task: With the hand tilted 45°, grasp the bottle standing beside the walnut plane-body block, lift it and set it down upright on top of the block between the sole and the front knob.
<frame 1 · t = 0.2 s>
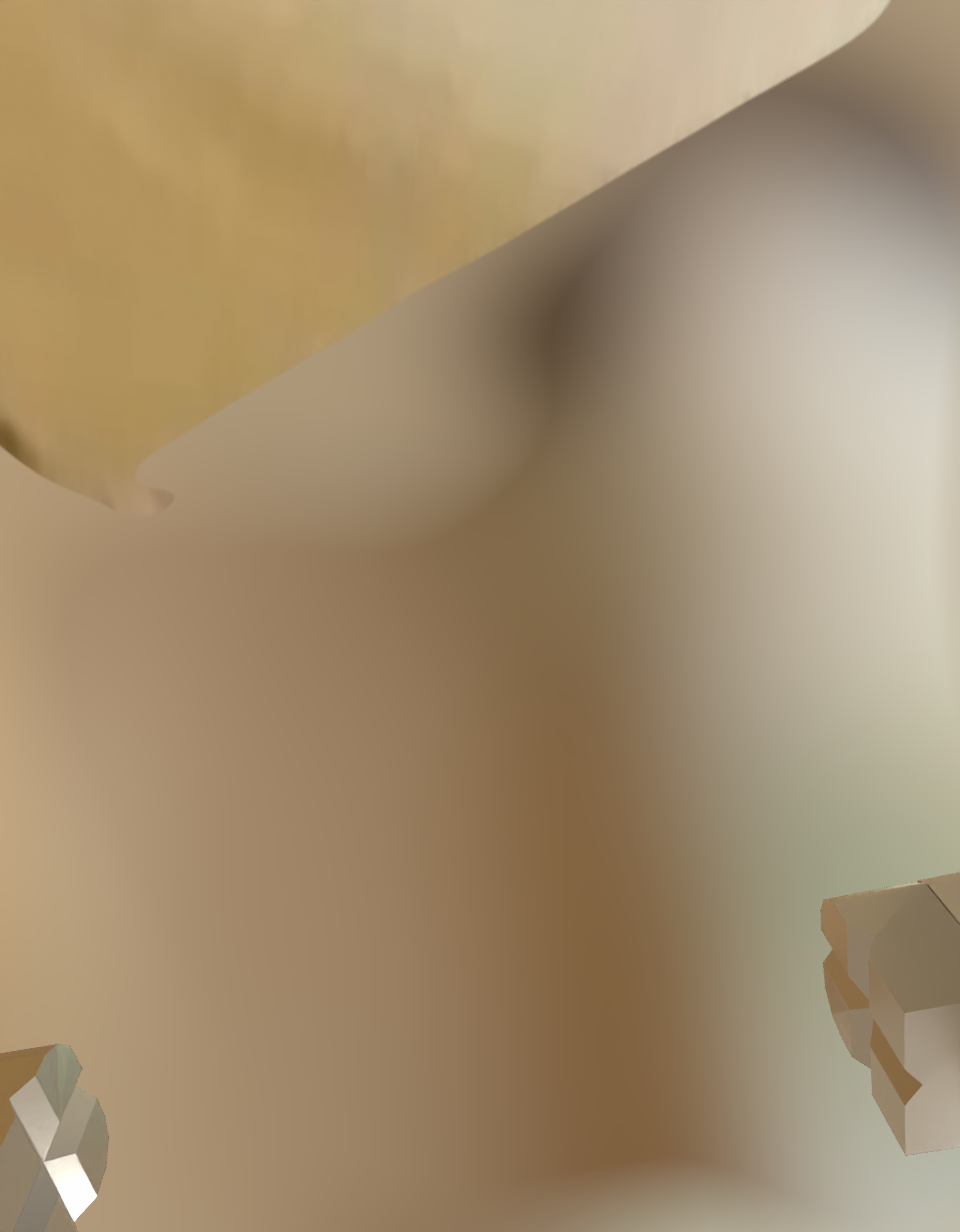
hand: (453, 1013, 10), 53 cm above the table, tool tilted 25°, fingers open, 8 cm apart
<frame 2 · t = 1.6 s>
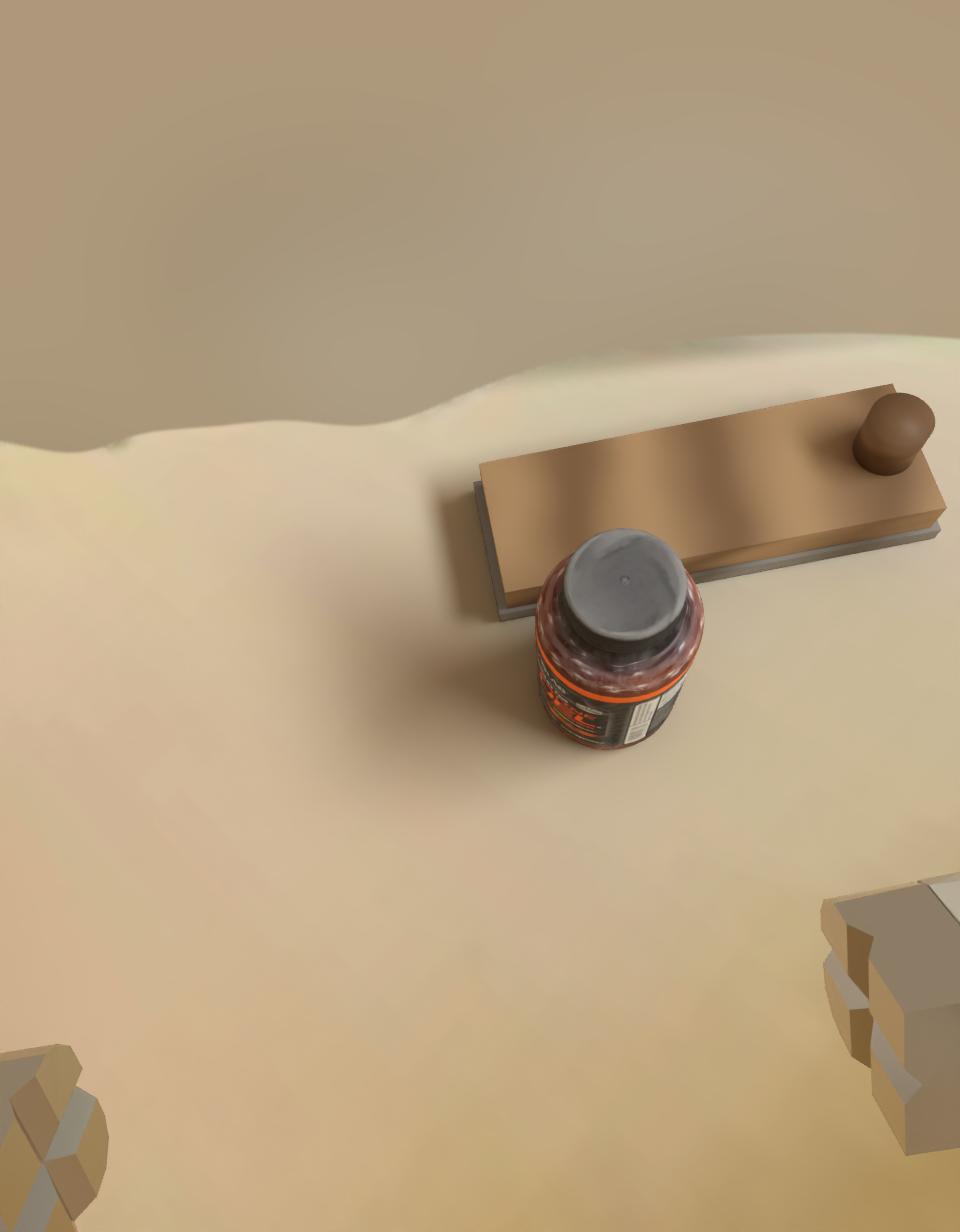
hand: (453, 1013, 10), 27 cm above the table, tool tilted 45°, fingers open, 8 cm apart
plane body: (696, 513, 42), on the table
supplement bottle: (606, 688, 39), on the table
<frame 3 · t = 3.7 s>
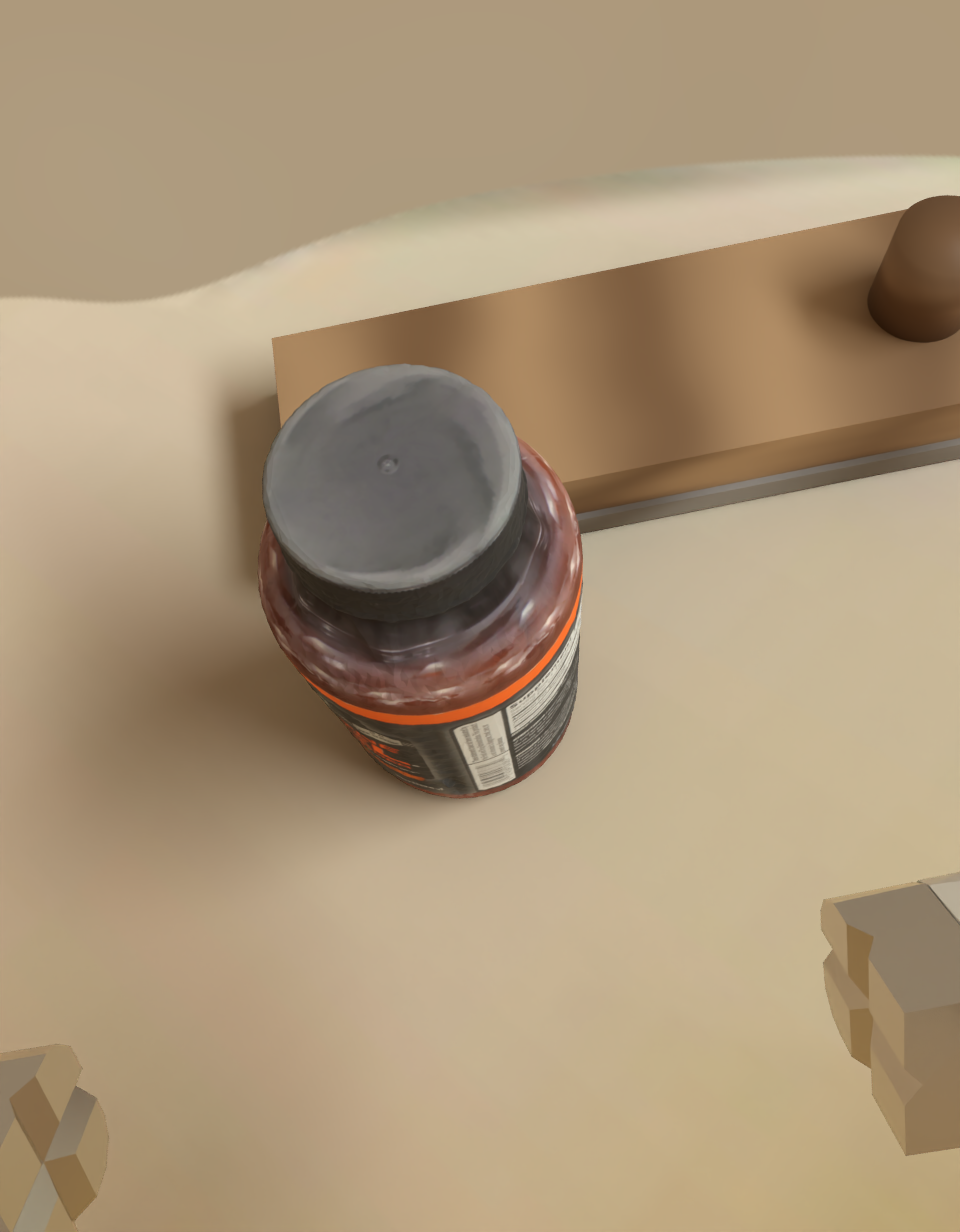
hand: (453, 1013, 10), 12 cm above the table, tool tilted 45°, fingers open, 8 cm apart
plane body: (621, 419, 26), on the table
supplement bottle: (466, 695, 24), on the table
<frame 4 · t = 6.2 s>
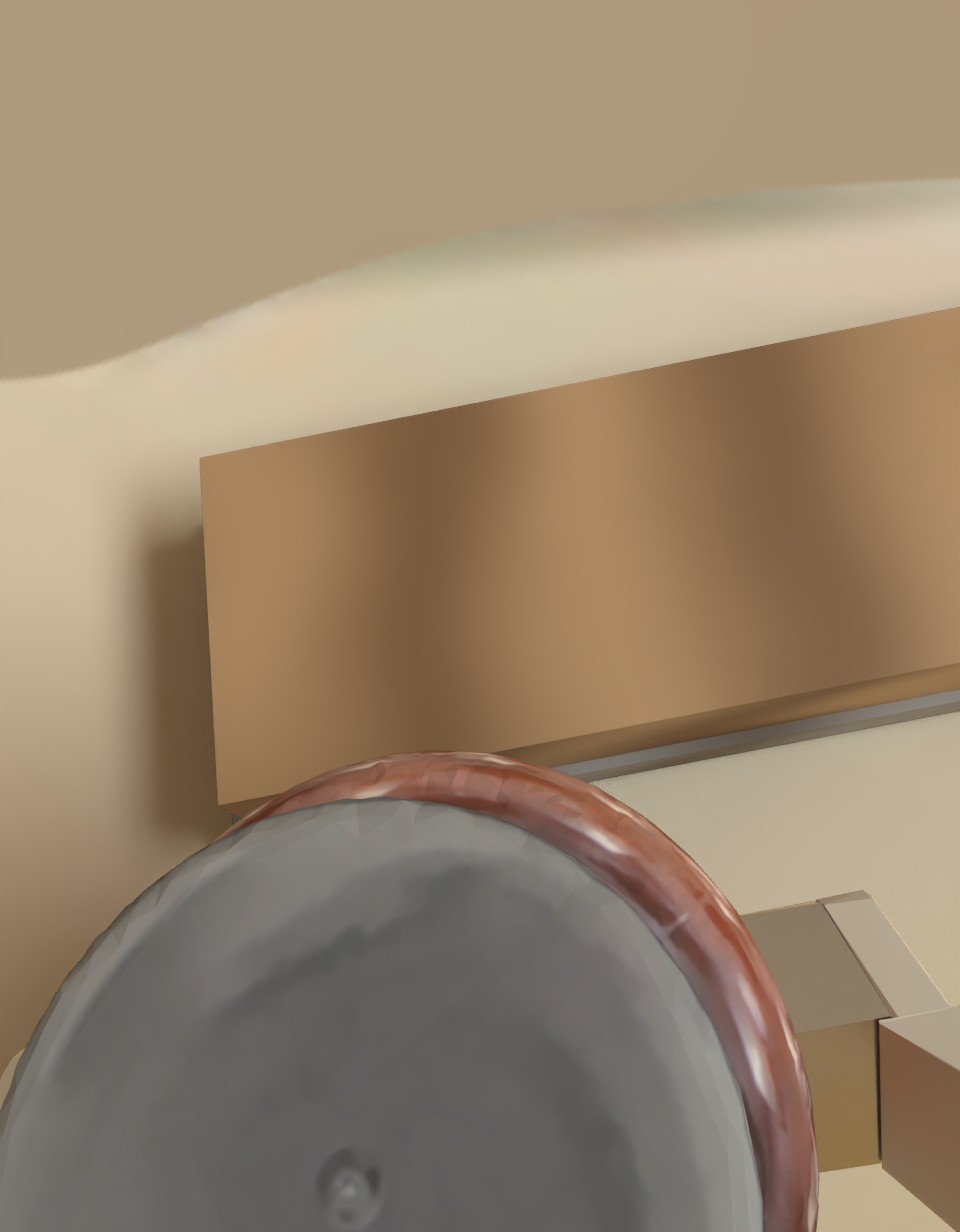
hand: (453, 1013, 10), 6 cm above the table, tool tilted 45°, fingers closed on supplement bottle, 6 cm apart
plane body: (730, 574, 18), on the table
supplement bottle: (501, 1045, 15), on the table, touching gripper
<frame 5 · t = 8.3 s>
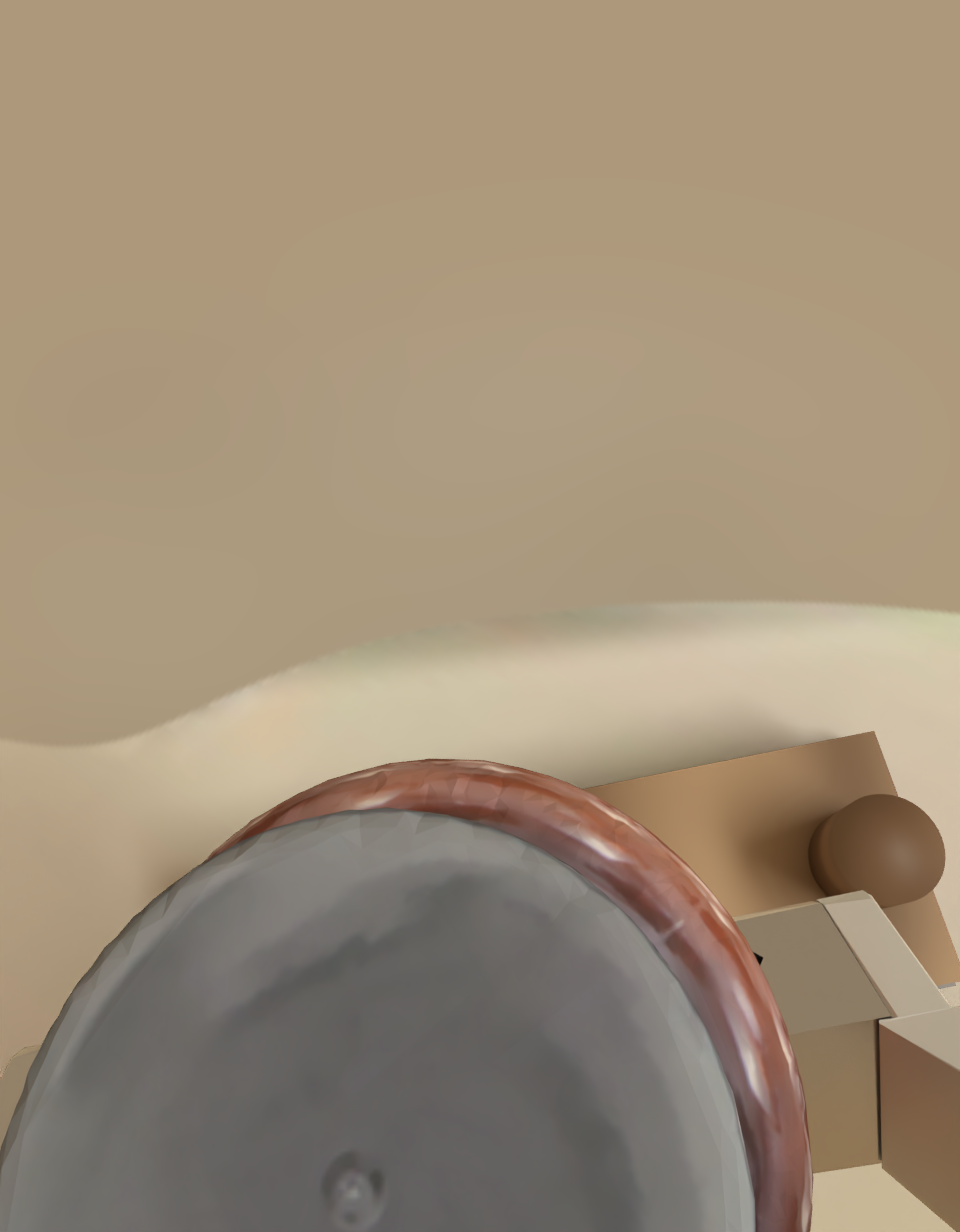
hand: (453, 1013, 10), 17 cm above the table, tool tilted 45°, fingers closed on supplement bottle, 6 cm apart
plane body: (565, 924, 26), on the table
supplement bottle: (501, 1048, 15), point 11 cm above the table, touching gripper
when the fingers open (10 cm above the table, at t = 10.5 s): supplement bottle stays where it is, resting on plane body.
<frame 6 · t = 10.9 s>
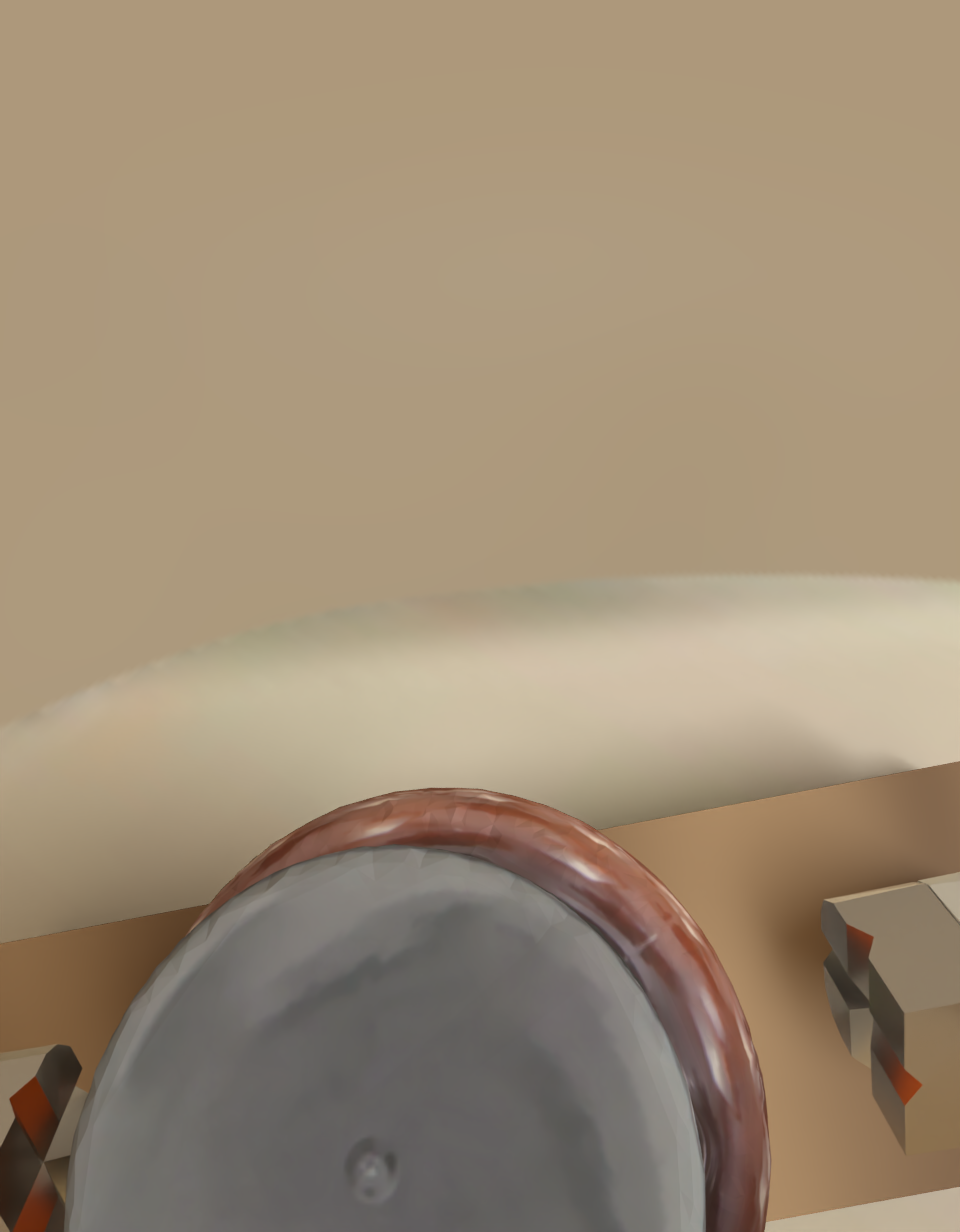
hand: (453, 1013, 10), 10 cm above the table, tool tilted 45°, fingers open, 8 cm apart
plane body: (515, 1033, 18), on the table
supplement bottle: (499, 1045, 16), point 2 cm above the table, touching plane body
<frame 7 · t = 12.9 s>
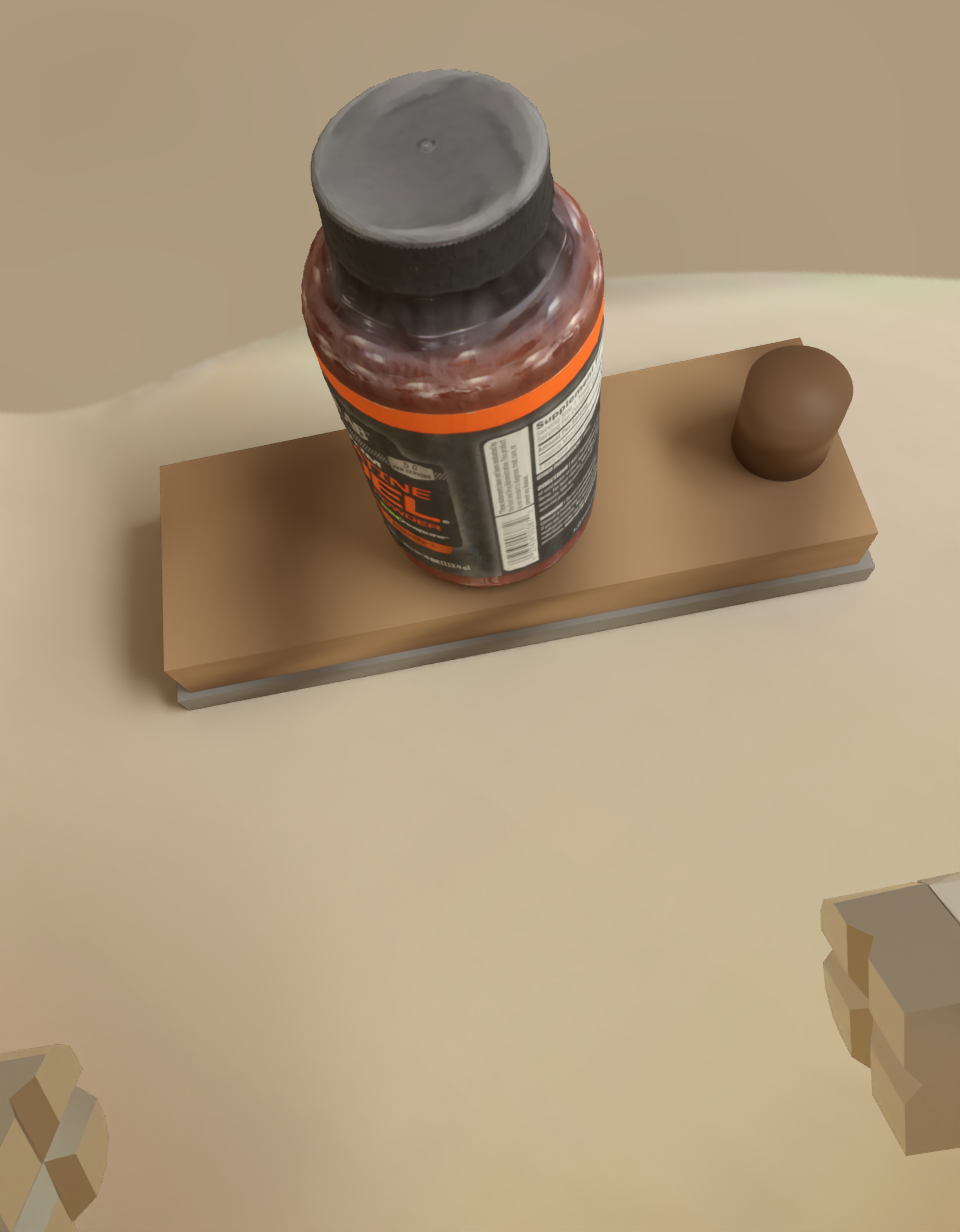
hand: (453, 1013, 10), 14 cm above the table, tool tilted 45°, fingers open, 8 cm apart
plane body: (503, 541, 27), on the table
supplement bottle: (490, 503, 25), point 2 cm above the table, touching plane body
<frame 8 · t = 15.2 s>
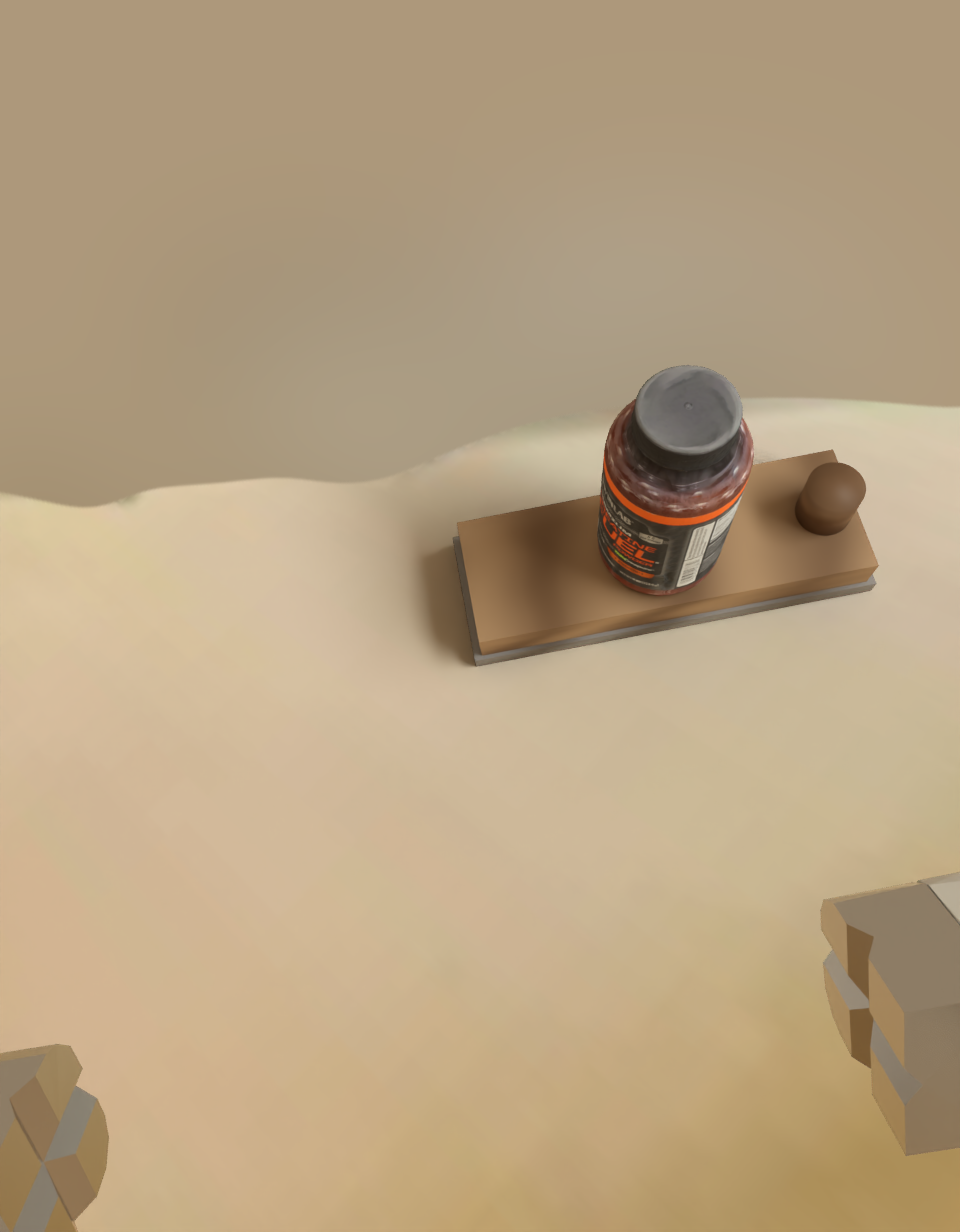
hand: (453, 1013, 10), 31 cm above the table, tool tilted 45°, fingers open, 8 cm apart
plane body: (655, 566, 46), on the table
supplement bottle: (657, 547, 43), point 2 cm above the table, touching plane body
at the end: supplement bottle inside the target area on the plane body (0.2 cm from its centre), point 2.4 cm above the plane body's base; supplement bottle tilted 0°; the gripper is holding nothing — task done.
